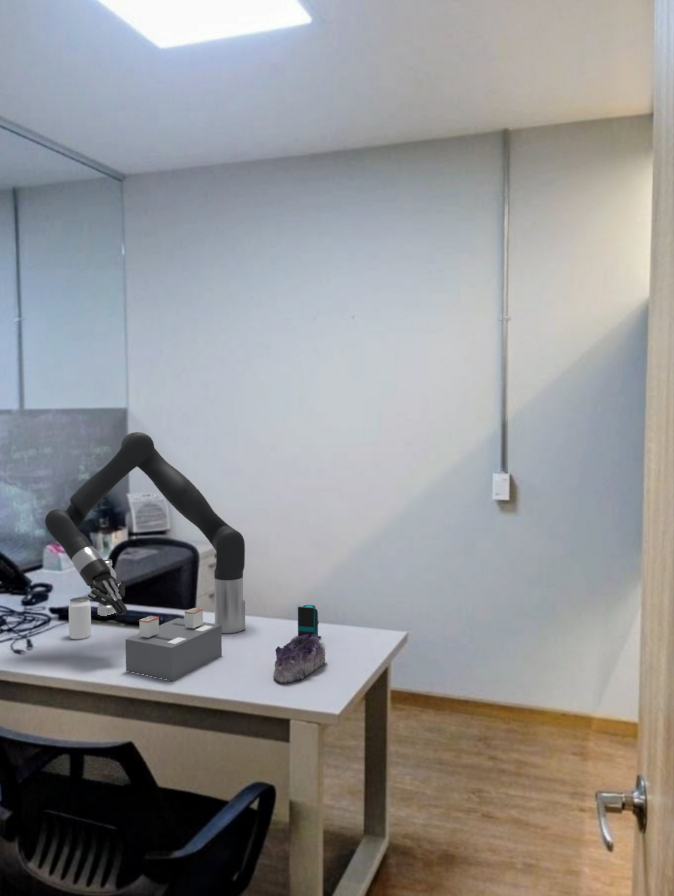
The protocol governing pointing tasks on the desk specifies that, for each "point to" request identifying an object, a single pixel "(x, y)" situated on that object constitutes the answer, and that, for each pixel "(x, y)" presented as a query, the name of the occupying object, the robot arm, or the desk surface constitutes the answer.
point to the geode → (298, 659)
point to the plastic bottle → (102, 608)
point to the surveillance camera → (308, 620)
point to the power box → (173, 649)
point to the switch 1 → (149, 626)
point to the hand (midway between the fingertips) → (123, 613)
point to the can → (79, 618)
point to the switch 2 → (193, 617)
